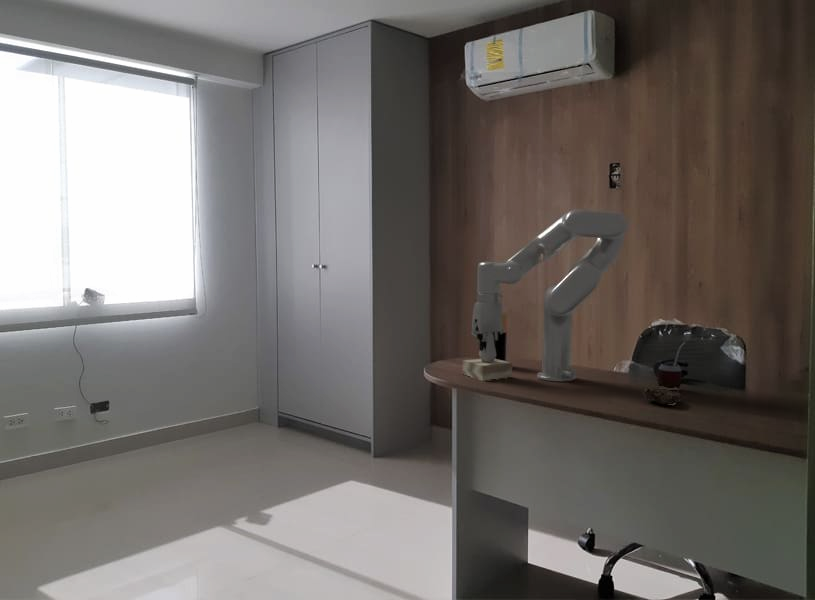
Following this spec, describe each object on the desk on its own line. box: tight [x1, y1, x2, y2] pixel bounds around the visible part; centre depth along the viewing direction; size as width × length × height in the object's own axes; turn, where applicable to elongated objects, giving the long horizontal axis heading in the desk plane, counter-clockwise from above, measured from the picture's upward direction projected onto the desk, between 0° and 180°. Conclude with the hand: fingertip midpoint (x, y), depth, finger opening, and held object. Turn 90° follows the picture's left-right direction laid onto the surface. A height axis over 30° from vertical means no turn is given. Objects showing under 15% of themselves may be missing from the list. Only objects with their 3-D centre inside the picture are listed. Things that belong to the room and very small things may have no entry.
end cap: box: [653, 357, 689, 382], centre depth 229 cm, size 10×7×7 cm
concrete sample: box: [642, 386, 682, 405], centre depth 195 cm, size 12×10×5 cm
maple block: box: [461, 358, 513, 382], centre depth 232 cm, size 12×12×5 cm
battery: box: [495, 312, 508, 362], centre depth 250 cm, size 7×7×20 cm
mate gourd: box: [657, 341, 686, 389], centre depth 212 cm, size 8×8×15 cm
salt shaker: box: [478, 332, 496, 362], centre depth 231 cm, size 6×6×13 cm
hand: (487, 351), depth 231 cm, fingers closed on salt shaker, 3 cm apart
